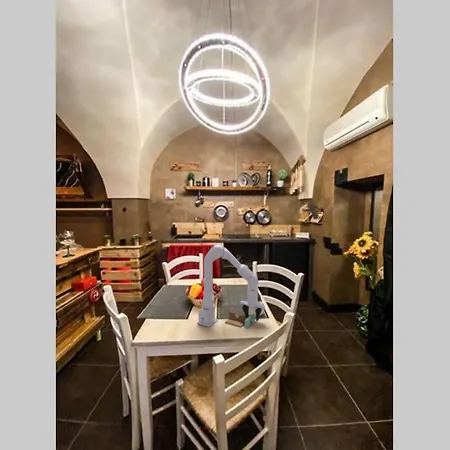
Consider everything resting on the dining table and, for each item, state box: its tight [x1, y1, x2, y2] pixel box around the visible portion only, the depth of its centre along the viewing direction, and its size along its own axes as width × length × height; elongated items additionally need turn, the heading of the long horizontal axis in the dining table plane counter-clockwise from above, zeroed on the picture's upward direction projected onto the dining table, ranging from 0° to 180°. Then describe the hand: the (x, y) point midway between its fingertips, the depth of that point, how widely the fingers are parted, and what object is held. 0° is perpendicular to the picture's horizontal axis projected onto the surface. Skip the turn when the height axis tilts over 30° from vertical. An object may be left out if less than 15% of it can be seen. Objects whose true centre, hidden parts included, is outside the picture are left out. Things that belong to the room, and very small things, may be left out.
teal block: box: [244, 313, 256, 329], centre depth 141 cm, size 10×2×4 cm, turn 150°
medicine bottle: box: [249, 293, 264, 318], centre depth 153 cm, size 7×7×12 cm
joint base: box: [224, 310, 246, 328], centre depth 144 cm, size 10×10×5 cm
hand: (252, 319), depth 144 cm, fingers open, 6 cm apart
